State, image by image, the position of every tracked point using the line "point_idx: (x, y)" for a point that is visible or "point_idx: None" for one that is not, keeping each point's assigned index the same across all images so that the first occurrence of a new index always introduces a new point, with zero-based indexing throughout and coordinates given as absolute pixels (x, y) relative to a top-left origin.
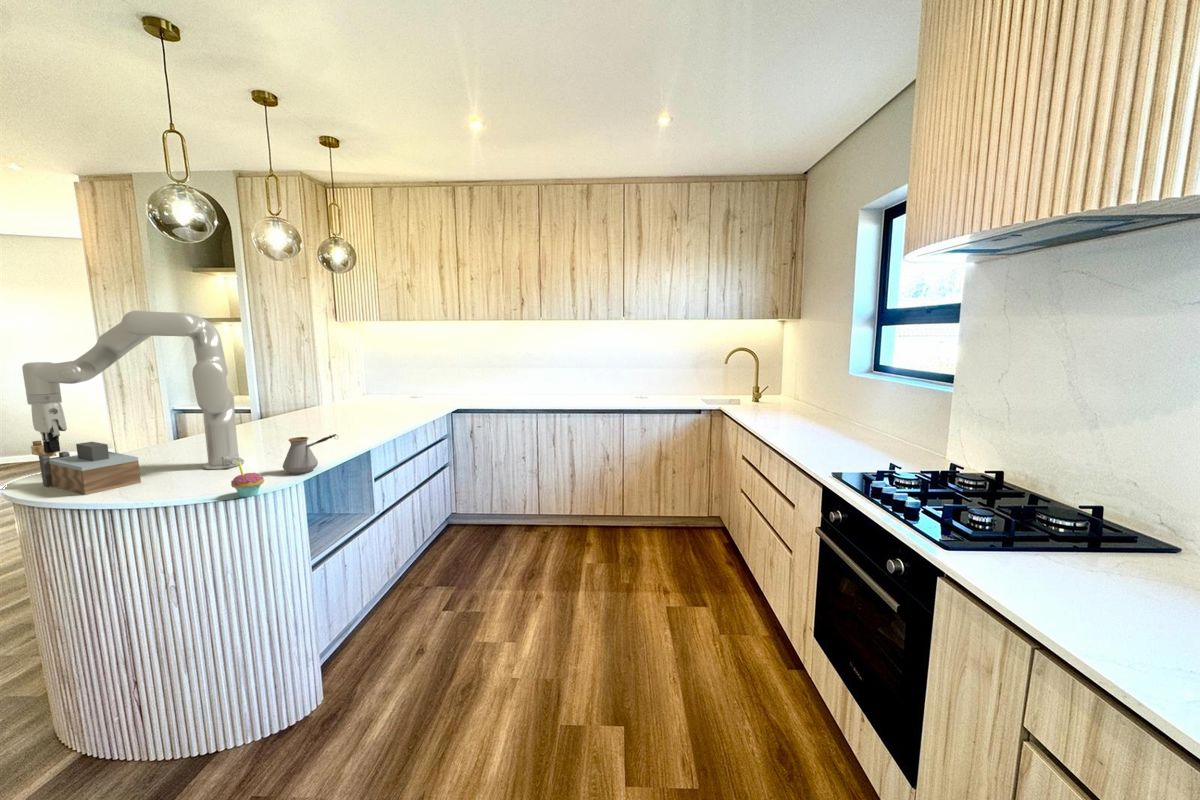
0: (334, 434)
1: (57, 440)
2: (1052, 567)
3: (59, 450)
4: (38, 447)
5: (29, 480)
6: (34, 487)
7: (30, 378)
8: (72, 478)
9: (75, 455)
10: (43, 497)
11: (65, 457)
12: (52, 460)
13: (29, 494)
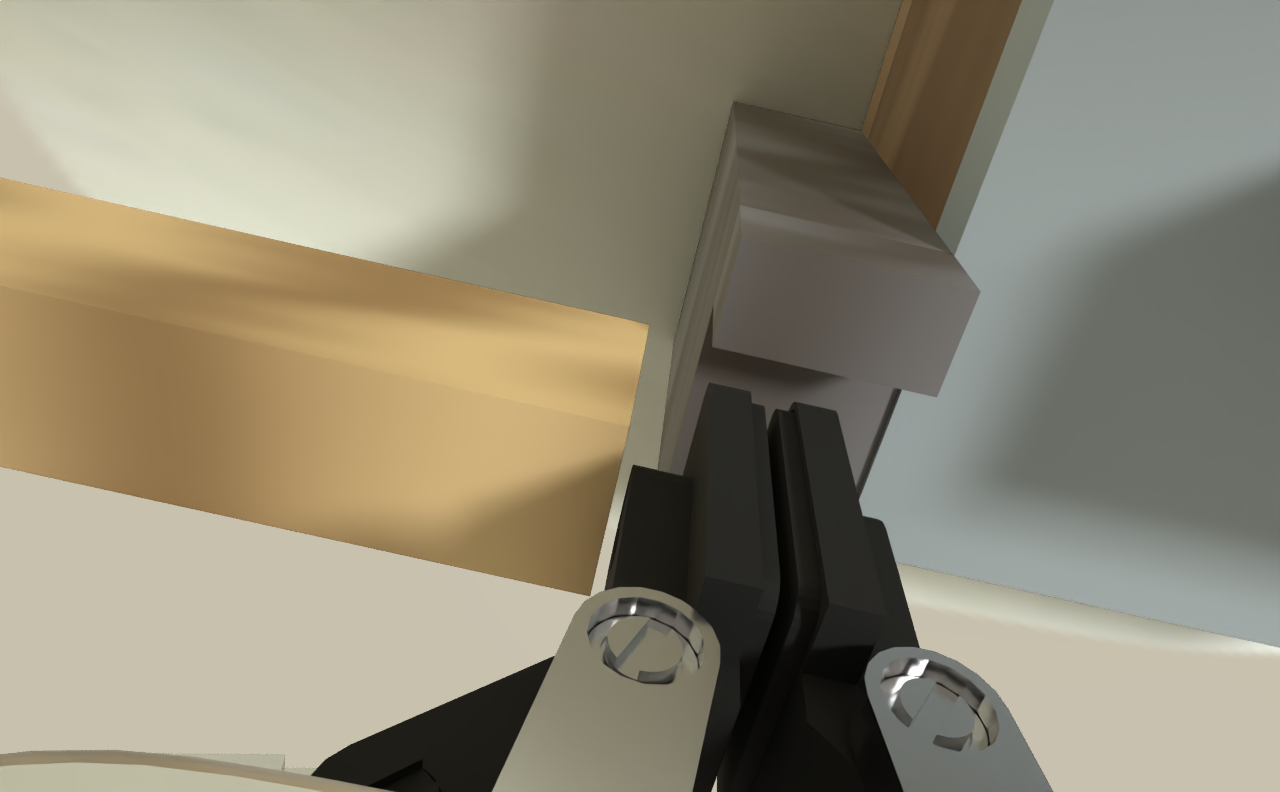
0: None
1: (877, 636)
2: None
3: (834, 425)
4: (237, 516)
5: (169, 191)
6: (635, 398)
7: None
8: None
9: (1004, 159)
10: (1173, 625)
11: (974, 354)
12: (984, 573)
13: (900, 577)
